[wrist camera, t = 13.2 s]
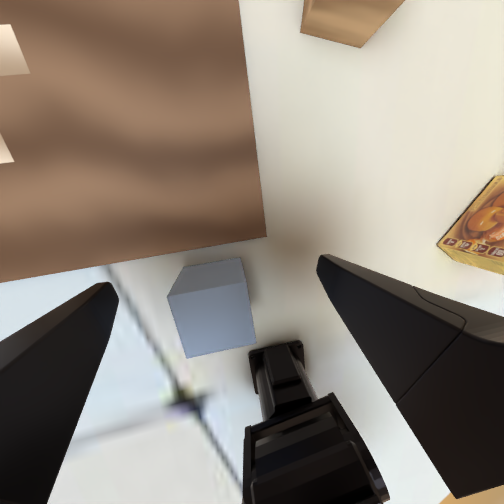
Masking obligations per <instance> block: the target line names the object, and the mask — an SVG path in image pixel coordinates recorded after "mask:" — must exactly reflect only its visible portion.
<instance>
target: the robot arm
mask: <svg viewBox="0 0 504 504" xmlns="http://www.w3.org/2000/svg"><path fill="white" fill-rule="evenodd" d="M316 271H317V275H318V277H319V279H320V281H321V283H322V285H323V287H324V289H325V291H326V293H327V295H328V297H329V299H330V301H331V302H332V304H333V306H334V307H335V309H336V311H337V312H338V314H339V315H340V317H341V318H342V320H343V322H344V323H345V325H346V326H347V328H348V330H349V331H350V333H351V334H352V336H353V337H354V339H355V341H356V342H357V344H358V345H359V347H360V349H361V350H362V352H363V353H364V355H365V357H366V358H367V360H368V361H369V363H370V364H371V366H372V368H373V369H374V371H375V372H376V374H377V376H378V377H379V379H380V380H381V382H382V384H383V385H384V387H385V388H386V390H387V391H388V393H389V395H390V396H391V398H392V399H393V401H394V403H396V406H397V408H398V409H399V411H400V412H401V414H402V416H403V417H404V419H405V420H406V422H407V423H408V425H409V427H410V428H411V430H412V431H413V433H414V435H415V436H416V438H417V439H418V441H419V442H420V444H421V446H422V447H423V449H424V450H425V452H426V454H427V455H428V457H429V458H430V460H431V462H432V463H433V465H434V466H435V468H436V469H437V471H438V473H439V474H440V476H441V477H442V479H443V481H444V482H445V484H446V485H447V487H448V488H449V490H450V491H451V493H452V494H453V495H454V497H455V498H456V499H459V498H462V497H466V496H469V495H472V494H475V493H479V492H482V491H485V490H488V489H491V488H494V487H498V486H501V485H504V317H502V316H499V315H496V314H493V313H490V312H487V311H484V310H481V309H478V308H475V307H472V306H469V305H466V304H463V303H460V302H457V301H454V300H451V299H448V298H445V297H442V296H439V295H437V294H434V293H431V292H428V291H426V290H423V289H420V288H418V287H415V286H411V285H410V284H407V283H404V282H402V281H399V280H396V279H394V278H391V277H388V276H386V275H383V274H380V273H378V272H375V271H372V270H370V269H367V268H364V267H362V266H359V265H356V264H354V263H351V262H348V261H346V260H343V259H340V258H338V257H335V256H332V255H330V254H325V255H320V257H319V259H318V264H317V269H316ZM118 304H119V298H118V295H117V293H116V291H115V289H114V287H113V285H112V284H111V283H110V282H102V283H96V284H95V285H93V286H91V287H90V288H88V289H86V290H85V291H83V292H81V293H80V294H78V295H76V296H75V297H73V298H71V299H70V300H68V301H67V302H65V303H63V304H62V305H60V306H58V307H57V308H55V309H53V310H52V311H50V312H48V313H47V314H45V315H43V316H42V317H40V318H38V319H37V320H35V321H34V322H32V323H30V324H29V325H27V326H25V327H24V328H22V329H20V330H19V331H17V332H15V333H14V334H12V335H10V336H9V337H7V338H5V339H4V340H2V341H1V342H0V504H47V502H48V499H49V497H50V494H51V491H52V489H53V486H54V484H55V481H56V478H57V476H58V473H59V470H60V468H61V465H62V462H63V460H64V457H65V455H66V452H67V449H68V447H69V444H70V441H71V439H72V436H73V434H74V431H75V428H76V426H77V423H78V420H79V418H80V415H81V413H82V410H83V407H84V405H85V402H86V399H87V397H88V394H89V391H90V389H91V386H92V384H93V381H94V378H95V376H96V373H97V370H98V368H99V365H100V363H101V360H102V357H103V355H104V352H105V349H106V347H107V344H108V341H109V338H110V335H111V331H112V327H113V323H114V319H115V315H116V311H117V308H118ZM298 345H299V346H298ZM248 357H249V362H250V368H251V373H252V378H253V383H254V388H255V393H256V394H259V399H260V405H261V411H262V417H263V422H261V423H258V424H256V425H253V426H251V425H250V426H247V427H245V439H244V453H243V498H242V504H383V503H384V502H386V501H388V500H390V496H389V493H388V490H387V487H386V485H385V483H384V480H383V478H382V476H381V474H380V472H379V469H378V467H377V465H376V463H375V461H374V459H373V457H372V455H371V454H370V452H369V450H368V448H367V446H366V444H365V443H364V441H363V439H362V437H361V436H360V434H359V432H358V431H357V429H356V428H355V426H354V425H353V423H352V421H351V420H350V418H349V417H348V415H347V414H346V412H345V410H344V409H343V407H342V406H341V404H340V402H339V401H338V399H337V398H336V396H335V395H334V393H333V392H332V393H329V394H328V396H325V397H323V398H320V399H318V398H317V396H316V394H315V391H314V389H313V387H312V385H311V383H310V381H309V378H308V376H307V374H306V372H305V364H304V350H303V344H302V342H301V341H295V342H290V343H286V344H282V345H277V346H273V347H268V348H264V349H260V350H255V351H251V352H250V353H249V354H248Z"/></svg>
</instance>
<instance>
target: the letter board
mask: <svg viewBox="0 0 504 504" xmlns="http://www.w3.org/2000/svg"><path fill="white" fill-rule="evenodd" d="M261 237H267V235H266V226H265V218H264V210H263V201H262V193H261V185H260V177H259V168H258V160H257V152H256V143H255V135H254V127H253V118H252V110H251V102H250V93H249V85H248V77H247V68H246V60H245V52H244V44H243V35H242V27H241V19H240V10H239V2H238V0H0V283H2V282H8V281H14V280H20V279H25V278H31V277H37V276H43V275H48V274H54V273H60V272H66V271H71V270H77V269H83V268H89V267H94V266H100V265H106V264H112V263H117V262H123V261H129V260H135V259H140V258H146V257H152V256H158V255H163V254H169V253H175V252H181V251H187V250H192V249H198V248H204V247H210V246H215V245H221V244H227V243H233V242H238V241H244V240H250V239H256V238H261Z"/></svg>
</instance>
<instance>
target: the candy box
mask: <svg viewBox="0 0 504 504" xmlns="http://www.w3.org/2000/svg"><path fill="white" fill-rule="evenodd" d="M437 245H438V246H439V247H440V248H442V249H443V250H444V251H445V252H446V253H447V254H448V255H449V256H451V257H452V258H453V259H454V260H455V261H458V262H461V263H464V264H468V265H471V266H475V267H478V268H481V269H485V270H488V271H491V272H495V273H498V274H502V275H504V175H502V176H496V177H495V178H494V179H493V180H492V181H491V183H490V184H489V185H488V186H487V187H486V189H485V190H484V191H483V192H482V193H481V194H480V196H479V197H478V198H477V199H476V200H475V201H474V202H473V204H472V205H471V206H470V207H469V208H468V210H467V211H466V212H465V213H464V214H463V216H462V217H461V218H460V219H459V220H458V221H457V222H456V224H455V225H454V226H453V227H452V228H451V230H450V231H449V232H448V233H447V234H446V235H445V236H444V237H443V238H442V239H441V240H440V241H439V242H438V243H437Z"/></svg>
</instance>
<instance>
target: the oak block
mask: <svg viewBox="0 0 504 504" xmlns="http://www.w3.org/2000/svg"><path fill="white" fill-rule="evenodd" d="M404 1H405V0H304V8H303V15H302V23H301V30H300V33H304V34H308V35H312V36H316V37H319V38H323V39H327V40H331V41H335V42H339V43H343V44H347V45H350V46H354V47H358V48H361V47H362V46H363V45H364V44H365V43H366V42H367V41H368V39H369V38H370V37H371V36H372V35H373V34H374V33H375V32H376V31H377V30H378V29H379V28H380V27H381V26H382V24H383V23H384V22H385V21H386V20H387V19H388V18H389V17H390V16H391V15H392V14H393V13H394V12H395V11H396V9H397V8H398V7H399V6H400V5H401V4H402V3H403V2H404Z"/></svg>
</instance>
